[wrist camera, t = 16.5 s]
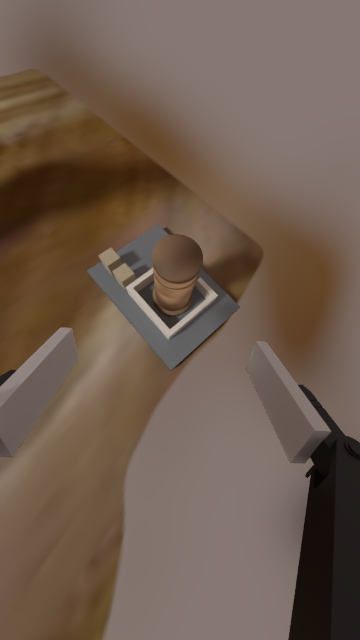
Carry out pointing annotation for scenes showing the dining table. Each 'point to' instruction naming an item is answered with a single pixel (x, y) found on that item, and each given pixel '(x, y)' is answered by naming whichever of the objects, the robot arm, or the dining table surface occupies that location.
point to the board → (138, 307)
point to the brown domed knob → (175, 273)
